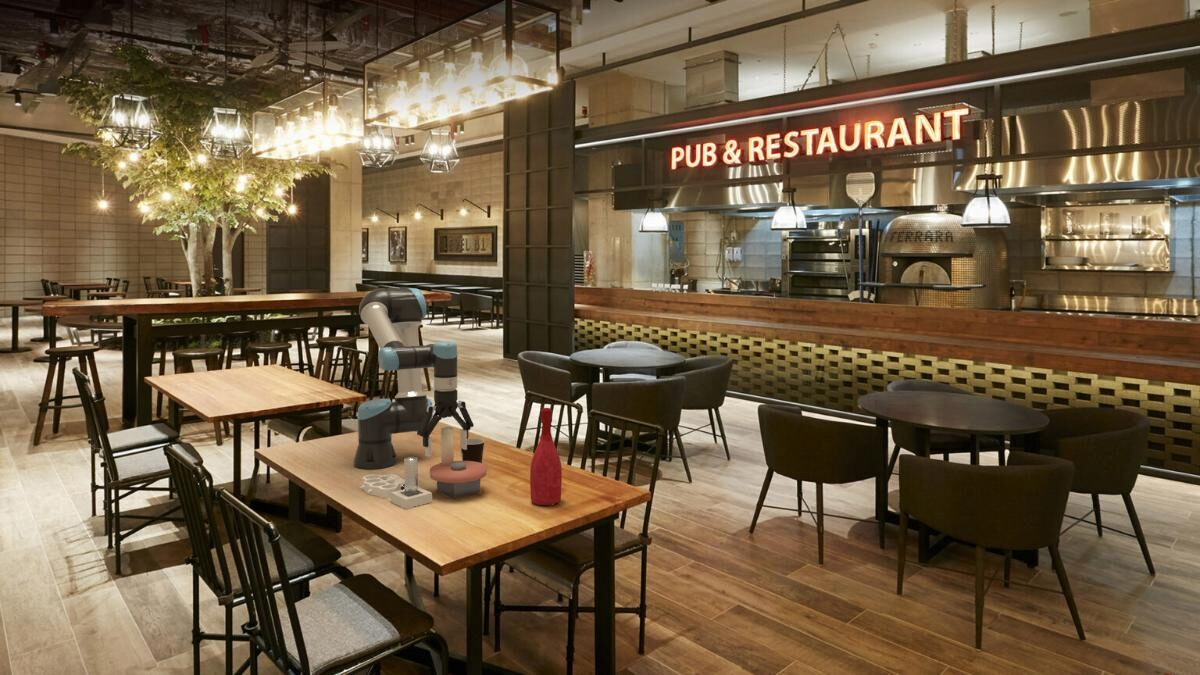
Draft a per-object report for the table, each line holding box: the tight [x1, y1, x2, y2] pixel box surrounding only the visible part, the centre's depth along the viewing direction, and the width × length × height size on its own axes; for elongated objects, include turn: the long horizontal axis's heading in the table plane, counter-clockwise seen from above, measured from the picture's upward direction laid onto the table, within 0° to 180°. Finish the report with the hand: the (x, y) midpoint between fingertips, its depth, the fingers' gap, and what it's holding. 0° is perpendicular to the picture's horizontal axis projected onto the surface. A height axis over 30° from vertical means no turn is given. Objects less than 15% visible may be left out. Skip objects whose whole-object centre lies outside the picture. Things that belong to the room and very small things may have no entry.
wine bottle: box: [529, 407, 563, 506], centre depth 224 cm, size 10×10×30 cm
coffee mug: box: [460, 438, 485, 464], centre depth 261 cm, size 12×9×10 cm
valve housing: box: [436, 479, 481, 500], centre depth 233 cm, size 10×10×6 cm
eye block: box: [390, 486, 433, 510], centre depth 223 cm, size 9×9×3 cm
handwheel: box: [429, 426, 488, 483], centre depth 232 cm, size 18×18×14 cm
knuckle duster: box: [359, 473, 405, 499], centre depth 235 cm, size 3×18×15 cm
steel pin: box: [403, 456, 419, 497], centre depth 223 cm, size 4×4×14 cm
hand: (446, 452), depth 237 cm, fingers open, 13 cm apart
